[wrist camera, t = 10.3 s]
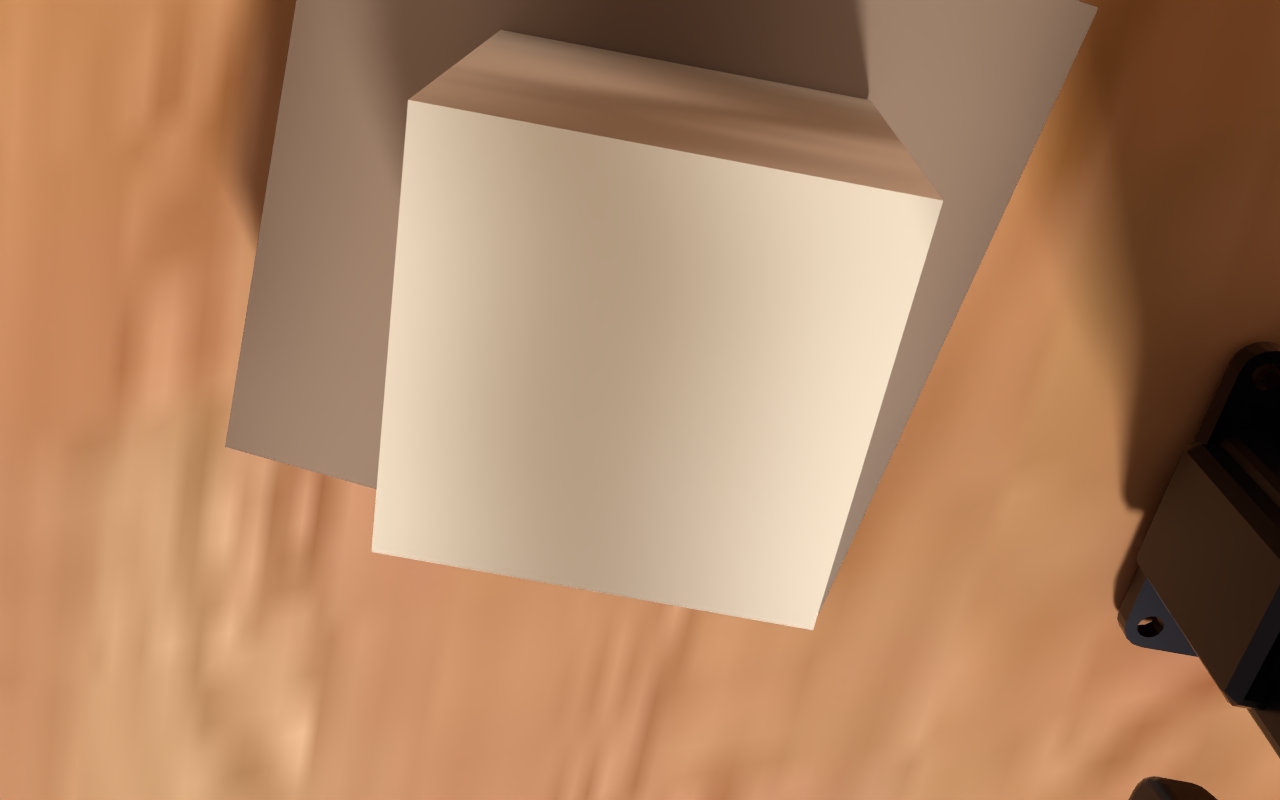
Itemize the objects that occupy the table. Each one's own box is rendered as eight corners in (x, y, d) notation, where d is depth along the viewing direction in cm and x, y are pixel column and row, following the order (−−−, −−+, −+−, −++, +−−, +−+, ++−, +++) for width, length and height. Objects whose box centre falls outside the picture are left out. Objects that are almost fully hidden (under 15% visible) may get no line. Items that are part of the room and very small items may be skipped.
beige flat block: (1016, -18, 18) (1098, 7, 14) (797, 493, 22) (818, 613, 18) (412, -223, 17) (336, -252, 13) (305, 349, 21) (225, 446, 17)
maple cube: (870, 99, 15) (942, 201, 10) (784, 428, 17) (812, 630, 12) (500, 29, 15) (407, 99, 10) (461, 369, 17) (371, 551, 12)
